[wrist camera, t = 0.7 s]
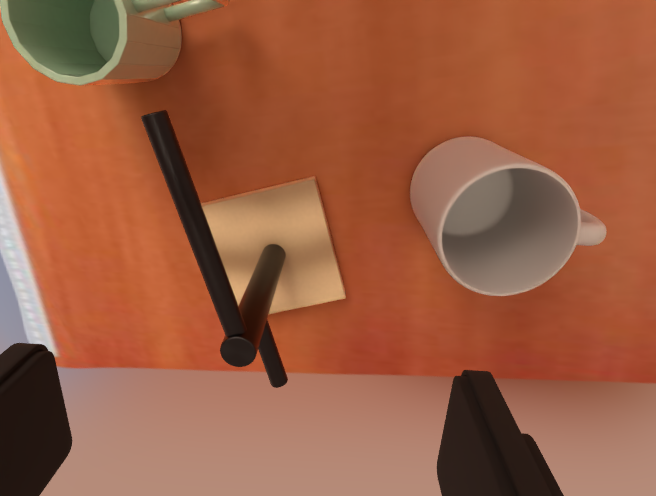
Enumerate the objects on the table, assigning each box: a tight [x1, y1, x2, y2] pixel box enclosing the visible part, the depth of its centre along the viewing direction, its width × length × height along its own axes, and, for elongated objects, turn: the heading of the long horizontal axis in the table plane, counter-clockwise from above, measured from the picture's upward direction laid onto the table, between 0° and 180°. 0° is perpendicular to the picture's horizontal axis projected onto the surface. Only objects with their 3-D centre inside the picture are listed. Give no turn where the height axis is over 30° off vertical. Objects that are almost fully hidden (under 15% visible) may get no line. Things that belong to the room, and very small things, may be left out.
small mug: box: [0, 0, 230, 85], centre depth 28 cm, size 11×7×9 cm, turn 104°
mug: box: [410, 136, 607, 296], centre depth 31 cm, size 12×8×11 cm
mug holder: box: [141, 110, 346, 388], centre depth 30 cm, size 19×10×15 cm, turn 14°
